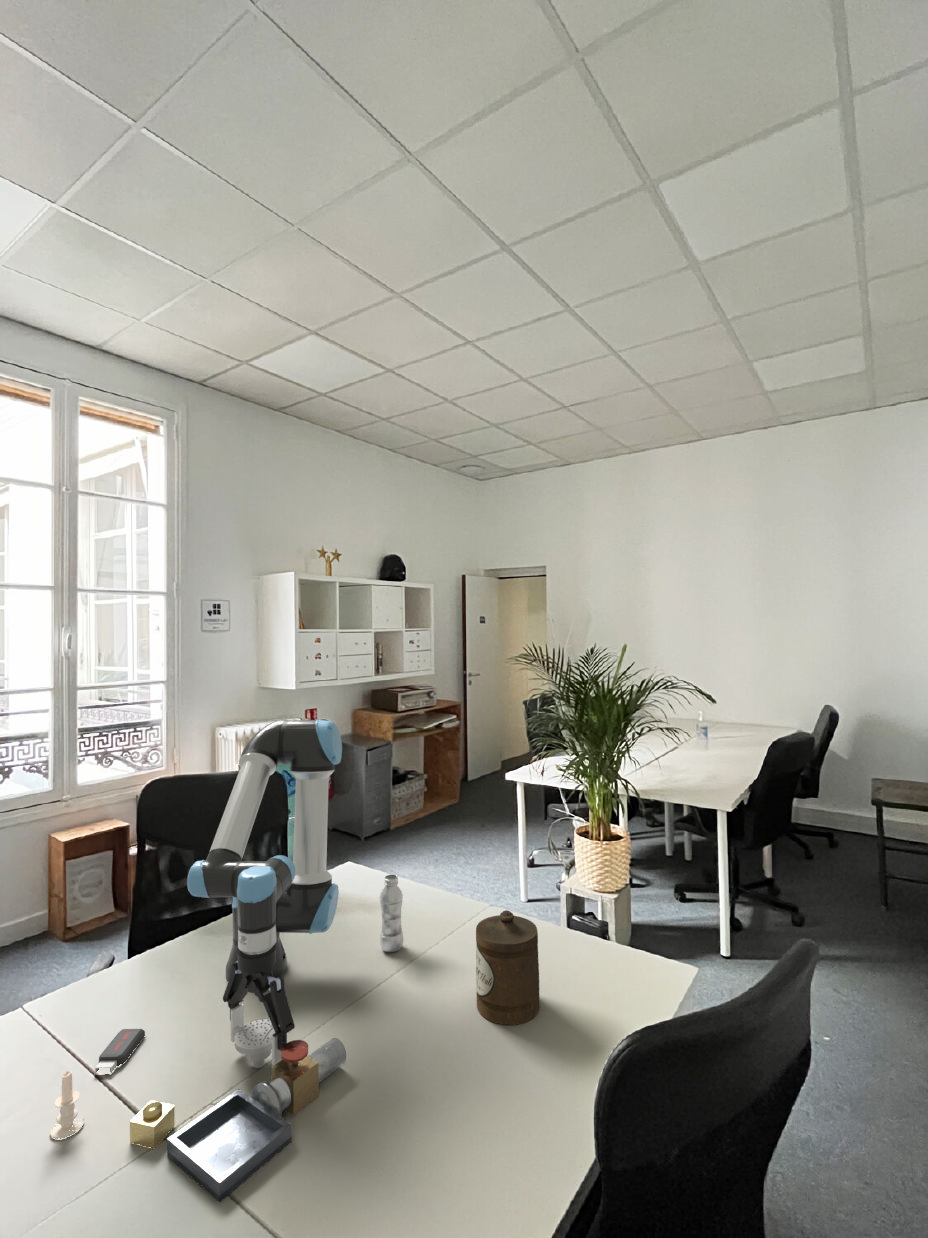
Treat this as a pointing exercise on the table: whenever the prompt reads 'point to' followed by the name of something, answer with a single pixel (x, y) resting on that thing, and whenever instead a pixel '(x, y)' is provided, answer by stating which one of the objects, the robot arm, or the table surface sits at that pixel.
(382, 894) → the plastic bottle
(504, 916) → the wooden container
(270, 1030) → the showerhead
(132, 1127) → the brass block
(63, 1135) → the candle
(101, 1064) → the usb drive
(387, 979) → the table surface
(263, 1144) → the metal assembly
